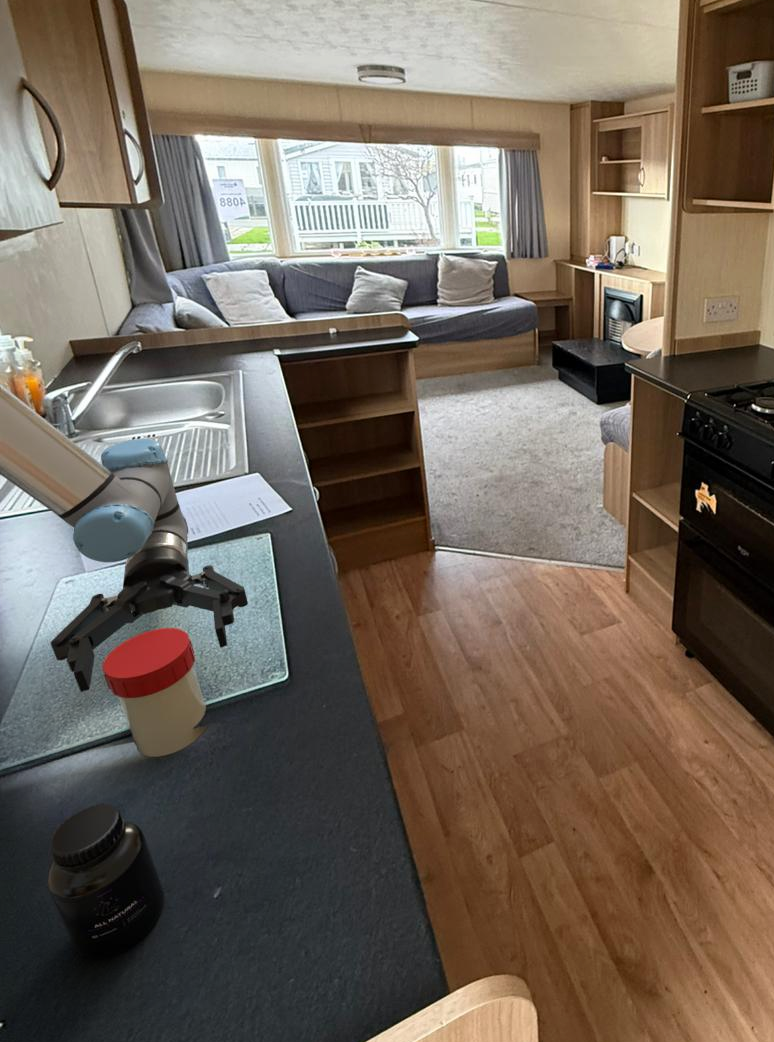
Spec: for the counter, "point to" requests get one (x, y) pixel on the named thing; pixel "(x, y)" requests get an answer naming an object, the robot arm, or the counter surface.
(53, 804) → the counter surface
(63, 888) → the supplement bottle
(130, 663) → the lid
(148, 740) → the jar
